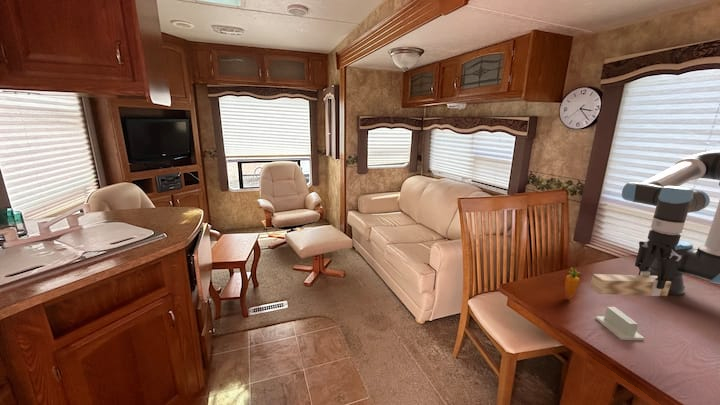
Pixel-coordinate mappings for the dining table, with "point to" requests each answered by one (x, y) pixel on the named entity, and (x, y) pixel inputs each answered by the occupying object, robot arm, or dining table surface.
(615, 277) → the birch bar
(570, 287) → the carrot
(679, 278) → the robot arm
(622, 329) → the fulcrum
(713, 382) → the dining table surface
